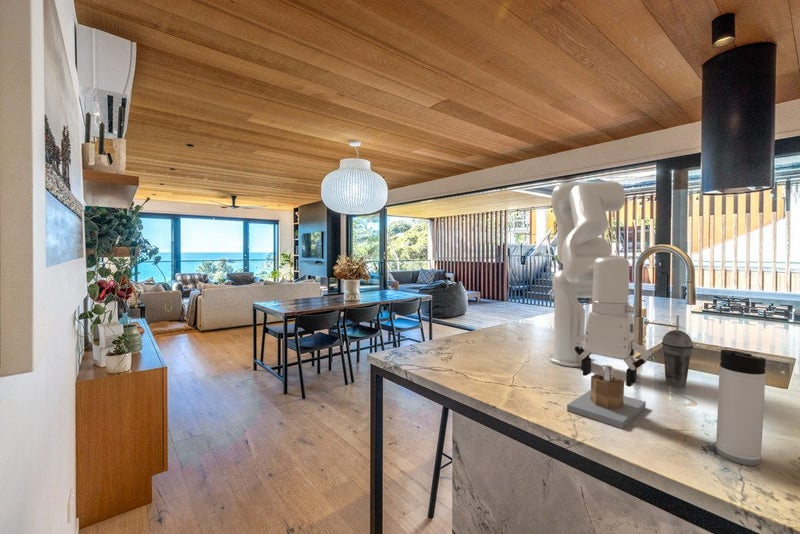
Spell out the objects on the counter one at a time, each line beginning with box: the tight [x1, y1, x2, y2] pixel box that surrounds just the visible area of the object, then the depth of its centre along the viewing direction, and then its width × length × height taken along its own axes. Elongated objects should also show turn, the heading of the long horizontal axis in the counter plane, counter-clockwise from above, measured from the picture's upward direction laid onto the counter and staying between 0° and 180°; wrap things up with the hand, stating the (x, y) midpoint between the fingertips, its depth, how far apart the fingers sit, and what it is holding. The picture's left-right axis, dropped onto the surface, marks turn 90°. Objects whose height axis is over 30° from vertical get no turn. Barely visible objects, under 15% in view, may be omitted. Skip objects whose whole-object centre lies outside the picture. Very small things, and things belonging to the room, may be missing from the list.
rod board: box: [566, 389, 647, 430], centre depth 91 cm, size 16×12×2 cm
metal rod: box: [602, 364, 614, 382], centre depth 90 cm, size 2×2×9 cm
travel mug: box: [715, 349, 767, 467], centre depth 70 cm, size 6×7×20 cm
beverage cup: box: [661, 315, 694, 389], centre depth 106 cm, size 7×7×20 cm
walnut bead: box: [590, 373, 625, 409], centre depth 90 cm, size 6×6×6 cm
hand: (607, 379), depth 90 cm, fingers open, 9 cm apart
